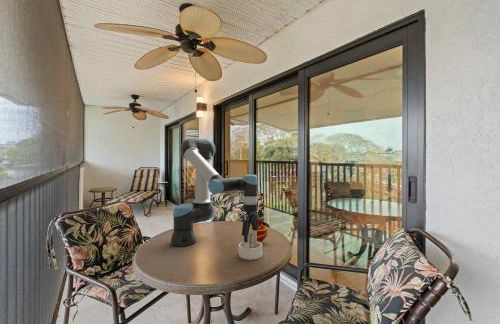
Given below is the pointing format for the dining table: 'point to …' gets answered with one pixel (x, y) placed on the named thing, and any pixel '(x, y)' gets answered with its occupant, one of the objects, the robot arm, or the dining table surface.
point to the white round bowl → (250, 251)
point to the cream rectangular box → (251, 240)
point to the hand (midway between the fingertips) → (250, 244)
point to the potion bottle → (261, 231)
